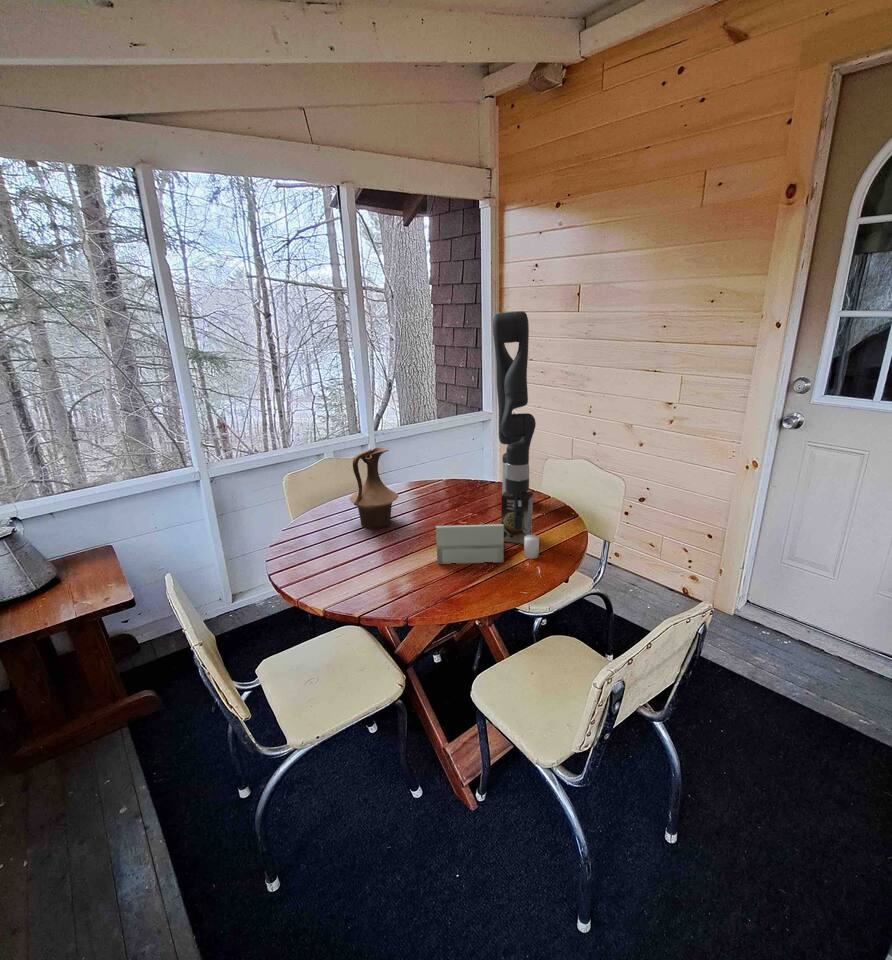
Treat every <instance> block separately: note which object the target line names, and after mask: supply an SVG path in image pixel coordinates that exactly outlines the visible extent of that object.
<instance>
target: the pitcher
mask: <svg viewBox="0 0 892 960" xmlns="http://www.w3.org/2000/svg"><path fill="white" fill-rule="evenodd" d="M388 451H389V449H388V448H385V447H374V448H373V449H370V448H369V449H366V450H364V451H362V452H359V453H357V454H356V455H355V456H354V457H353V460H352V471H353V474H354V477H355V479H356V481H357V482H356V483H357V486H358V490H357V491H356V492H354V493H353V494H352V495H351V496H350V497H349V501H350V503H351V504H353V505H354V506H355V507H357V510H358V514H359V519H360V525H361V526H362V527H363V528H365V529H369V530H377V529H383V528H386V527H388V526H390V525H391V523H392V519H391V518H392V516H391V515H392V508H393V507H392V505H393V503H394V502H395V501H396V500H397V499H399V494H398V493H397V492H395V491H393V490H392V489H390V488H389V487H388V486H386V485H385V484H384V483H383V481H382V480H381V478H380V474H379V459H380V458H381V456H382V454H384V453H386V452H388ZM360 460H362V461H363V462H364V463H365V464H366V468H367V469H366V470H367V471H366V472H367V474H366V475H367V476H366V479H365V482H364V484H363V483H362V478H361V474H360V471H359V461H360Z"/></svg>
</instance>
